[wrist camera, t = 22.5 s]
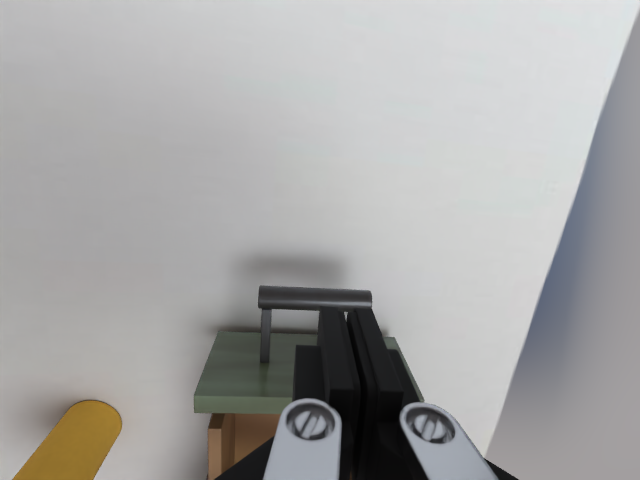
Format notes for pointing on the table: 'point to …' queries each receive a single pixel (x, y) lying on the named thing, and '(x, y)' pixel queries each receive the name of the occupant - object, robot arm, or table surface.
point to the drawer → (261, 373)
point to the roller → (75, 444)
